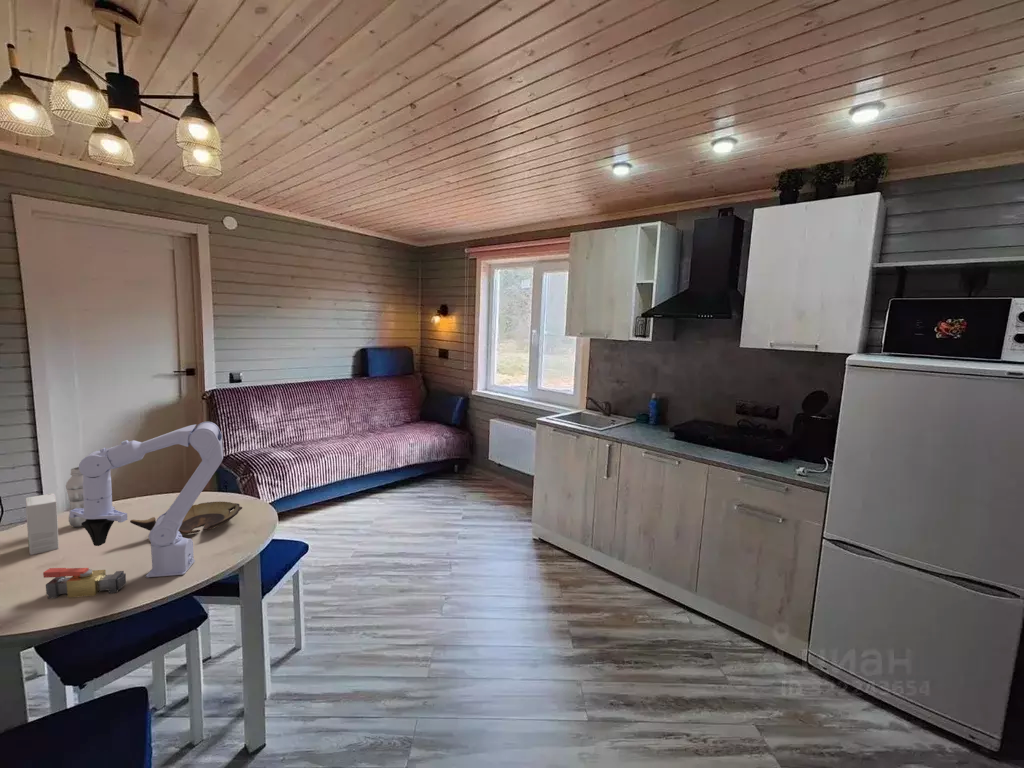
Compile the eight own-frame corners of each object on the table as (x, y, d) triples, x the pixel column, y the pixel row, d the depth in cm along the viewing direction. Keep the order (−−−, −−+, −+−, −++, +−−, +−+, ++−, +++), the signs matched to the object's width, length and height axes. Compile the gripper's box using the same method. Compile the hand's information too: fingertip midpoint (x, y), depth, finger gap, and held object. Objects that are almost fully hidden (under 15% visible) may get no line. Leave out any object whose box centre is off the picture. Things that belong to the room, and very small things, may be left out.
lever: (94, 572, 123) (94, 566, 123) (88, 576, 121) (87, 571, 121) (50, 573, 121) (50, 567, 121) (43, 578, 119) (42, 572, 119)
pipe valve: (128, 583, 127) (127, 567, 126) (118, 593, 122) (117, 576, 122) (56, 589, 123) (55, 572, 122) (43, 599, 118) (42, 582, 117)
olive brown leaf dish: (237, 536, 156) (236, 515, 155) (125, 549, 144) (124, 526, 143) (245, 510, 176) (245, 491, 175) (148, 520, 164) (147, 499, 163)
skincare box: (28, 545, 143) (24, 497, 141) (58, 539, 148) (54, 492, 146) (29, 556, 137) (25, 505, 135) (60, 548, 142) (56, 500, 140)
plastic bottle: (98, 524, 159) (95, 468, 156) (72, 531, 153) (68, 473, 151) (92, 519, 162) (88, 464, 160) (66, 525, 157) (61, 468, 154)
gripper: (136, 493, 128) (137, 540, 130) (86, 488, 129) (88, 535, 131) (113, 502, 121) (115, 552, 123) (60, 497, 122) (63, 546, 124)
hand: (99, 544), depth 126 cm, fingers closed
